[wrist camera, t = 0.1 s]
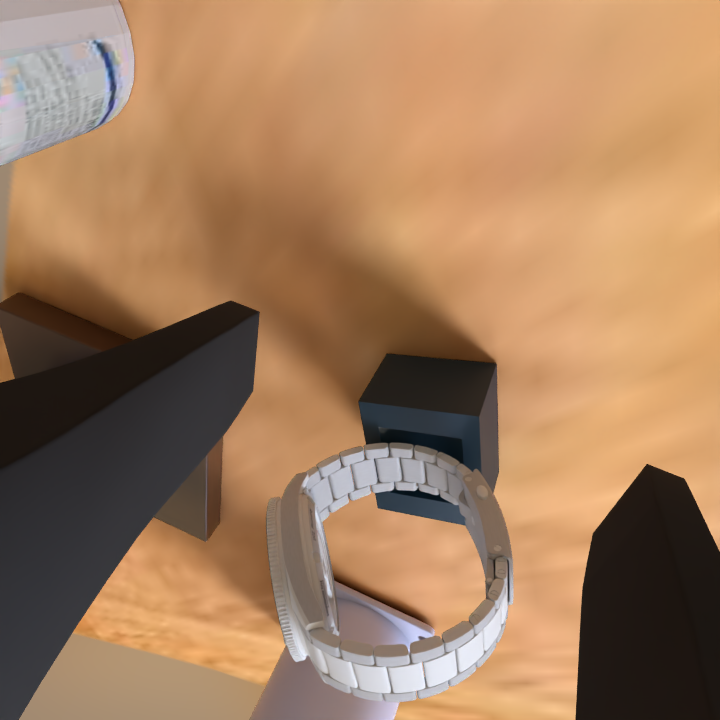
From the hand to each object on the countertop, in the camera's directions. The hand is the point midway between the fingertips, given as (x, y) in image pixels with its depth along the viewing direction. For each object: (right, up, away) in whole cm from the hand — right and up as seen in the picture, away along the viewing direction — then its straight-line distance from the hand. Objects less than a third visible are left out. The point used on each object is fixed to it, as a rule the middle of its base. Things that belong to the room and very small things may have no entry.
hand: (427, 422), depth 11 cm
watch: (+2, -1, +13) cm, 14 cm away
